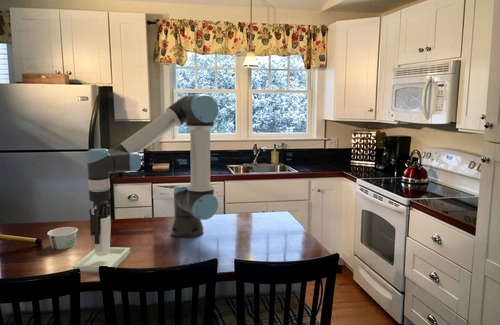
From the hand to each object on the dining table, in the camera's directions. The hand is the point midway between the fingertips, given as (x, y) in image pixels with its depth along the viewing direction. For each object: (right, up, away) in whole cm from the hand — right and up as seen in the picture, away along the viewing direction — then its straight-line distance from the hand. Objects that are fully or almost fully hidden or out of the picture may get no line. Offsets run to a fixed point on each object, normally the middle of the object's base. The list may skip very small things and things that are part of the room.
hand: (102, 248), depth 154 cm
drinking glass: (0, -3, 0) cm, 3 cm away
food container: (-24, -3, +19) cm, 31 cm away
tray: (0, -5, +1) cm, 6 cm away
